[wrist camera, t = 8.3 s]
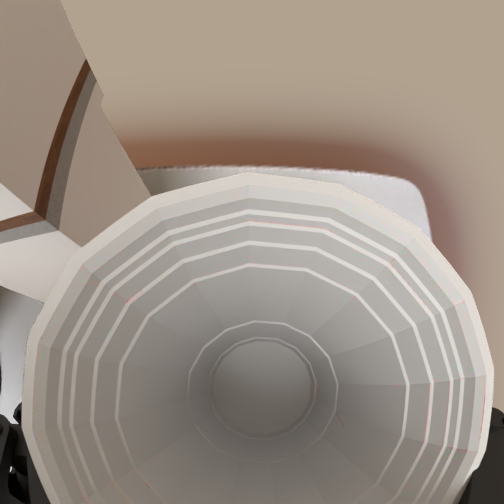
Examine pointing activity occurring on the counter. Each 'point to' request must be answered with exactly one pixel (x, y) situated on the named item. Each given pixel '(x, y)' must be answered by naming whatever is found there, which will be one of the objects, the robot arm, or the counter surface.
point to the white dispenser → (53, 150)
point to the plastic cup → (258, 356)
